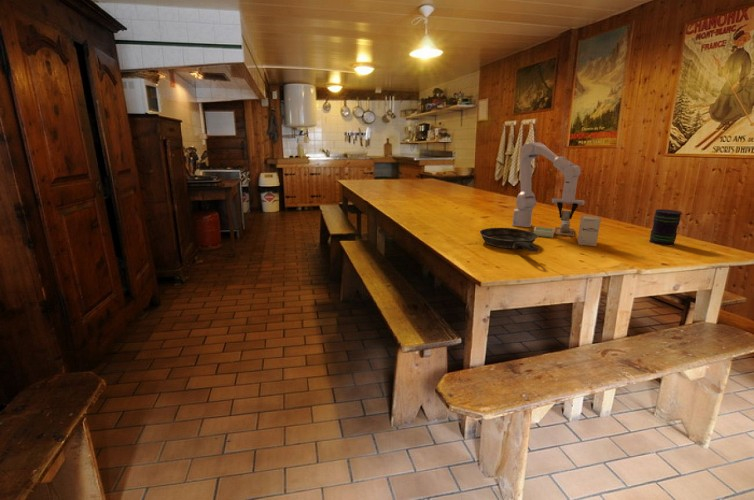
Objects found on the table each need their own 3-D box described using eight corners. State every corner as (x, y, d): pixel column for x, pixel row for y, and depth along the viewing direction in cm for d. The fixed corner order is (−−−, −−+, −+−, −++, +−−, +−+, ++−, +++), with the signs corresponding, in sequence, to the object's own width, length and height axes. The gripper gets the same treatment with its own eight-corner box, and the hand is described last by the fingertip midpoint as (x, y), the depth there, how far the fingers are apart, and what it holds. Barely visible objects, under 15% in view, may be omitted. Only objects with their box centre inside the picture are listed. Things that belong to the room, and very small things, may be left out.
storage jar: (676, 242, 186) (683, 211, 182) (672, 246, 180) (680, 214, 175) (651, 239, 193) (657, 208, 189) (646, 242, 186) (653, 211, 182)
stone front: (560, 220, 197) (561, 211, 195) (560, 219, 200) (562, 210, 199) (569, 221, 195) (570, 212, 194) (569, 219, 199) (570, 210, 197)
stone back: (560, 230, 206) (561, 221, 205) (560, 228, 210) (561, 220, 209) (568, 231, 205) (569, 222, 204) (568, 229, 208) (569, 221, 207)
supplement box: (578, 245, 181) (582, 217, 178) (577, 241, 188) (581, 214, 184) (596, 246, 179) (601, 219, 175) (594, 242, 185) (599, 216, 182)
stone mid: (560, 232, 203) (561, 223, 201) (560, 230, 206) (561, 222, 205) (568, 233, 201) (570, 224, 200) (568, 231, 204) (569, 222, 203)
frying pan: (473, 236, 194) (474, 223, 193) (525, 237, 194) (526, 223, 192) (498, 265, 153) (500, 248, 151) (564, 266, 152) (567, 249, 150)
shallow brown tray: (554, 235, 198) (554, 233, 198) (555, 228, 212) (555, 227, 212) (574, 237, 195) (574, 235, 195) (573, 230, 209) (574, 228, 209)
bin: (533, 235, 197) (533, 230, 196) (534, 231, 205) (535, 226, 204) (552, 237, 193) (553, 232, 193) (553, 233, 201) (554, 228, 200)
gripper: (553, 190, 193) (549, 218, 197) (586, 192, 187) (581, 221, 191) (553, 189, 199) (549, 215, 203) (585, 190, 193) (581, 218, 197)
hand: (565, 218), depth 197 cm, fingers closed on stone front, 4 cm apart
